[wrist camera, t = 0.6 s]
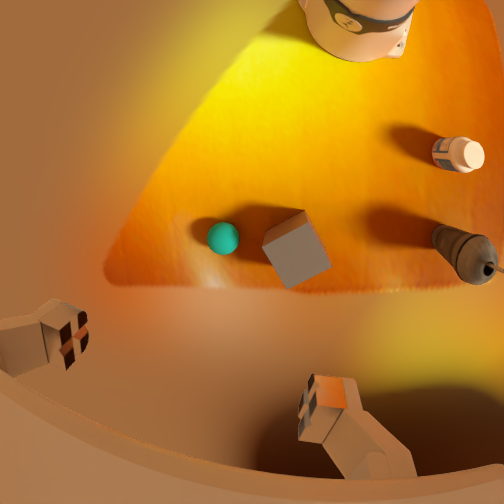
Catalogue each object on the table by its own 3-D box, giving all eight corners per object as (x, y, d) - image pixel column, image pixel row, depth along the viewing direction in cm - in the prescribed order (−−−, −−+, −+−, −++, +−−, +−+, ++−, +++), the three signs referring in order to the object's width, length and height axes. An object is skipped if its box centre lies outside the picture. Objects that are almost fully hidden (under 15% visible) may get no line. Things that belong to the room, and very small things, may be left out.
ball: (219, 213, 49) (212, 220, 45) (247, 229, 50) (242, 237, 45) (206, 239, 51) (197, 248, 46) (232, 254, 51) (226, 265, 47)
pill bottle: (459, 167, 42) (490, 172, 33) (434, 171, 43) (463, 177, 34) (453, 135, 41) (484, 134, 32) (427, 139, 42) (456, 138, 32)
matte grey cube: (265, 231, 49) (261, 247, 41) (304, 210, 48) (308, 222, 40) (287, 267, 51) (286, 289, 43) (324, 247, 49) (332, 266, 41)
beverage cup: (417, 234, 47) (478, 281, 28) (446, 208, 45) (517, 241, 26) (436, 265, 48) (494, 319, 29) (464, 239, 46) (530, 283, 27)
